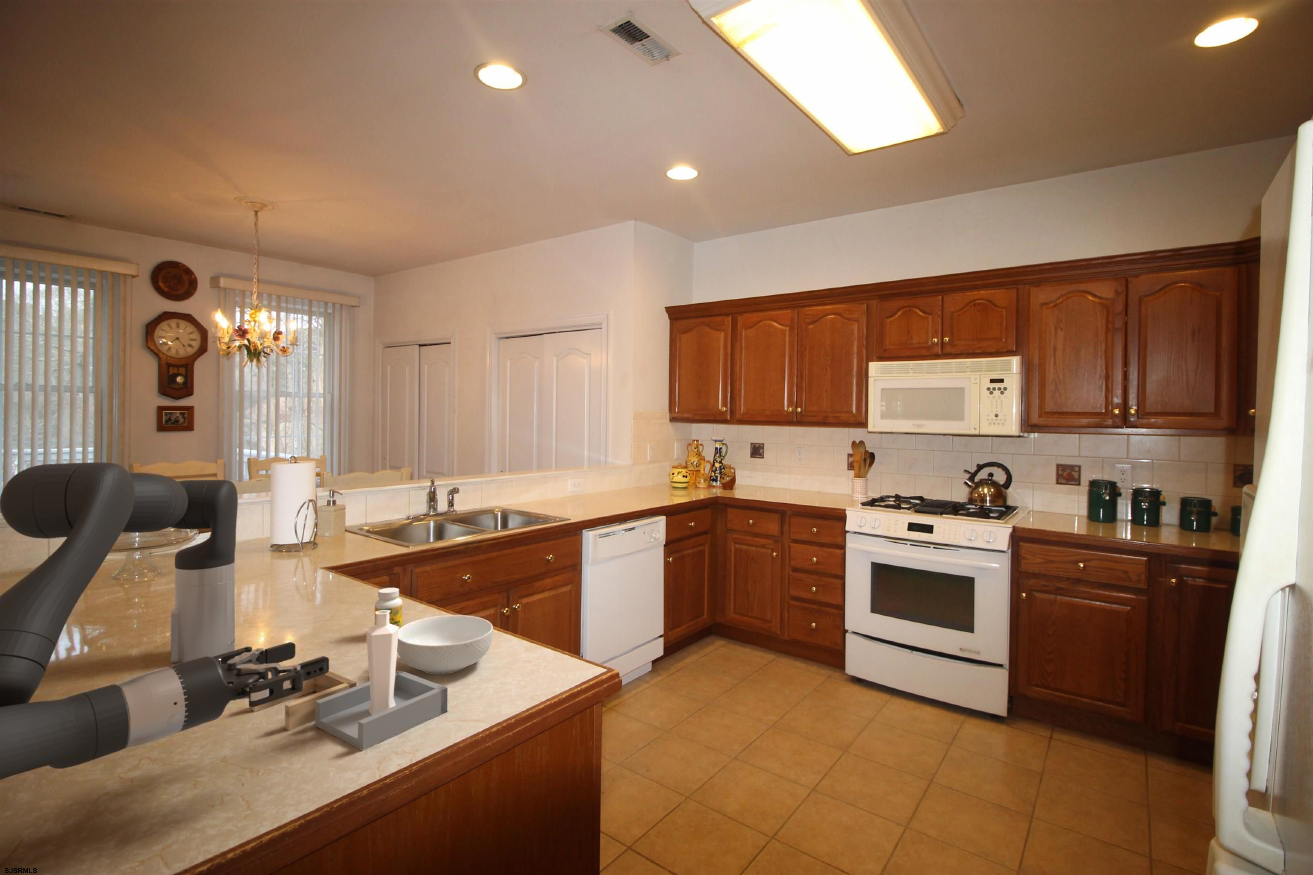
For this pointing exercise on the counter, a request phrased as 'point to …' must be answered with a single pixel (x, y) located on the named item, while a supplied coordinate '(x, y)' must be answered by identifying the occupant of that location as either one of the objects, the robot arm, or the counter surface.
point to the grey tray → (364, 730)
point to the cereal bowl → (444, 642)
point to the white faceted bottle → (382, 662)
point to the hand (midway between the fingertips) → (310, 656)
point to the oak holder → (310, 698)
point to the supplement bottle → (390, 605)
